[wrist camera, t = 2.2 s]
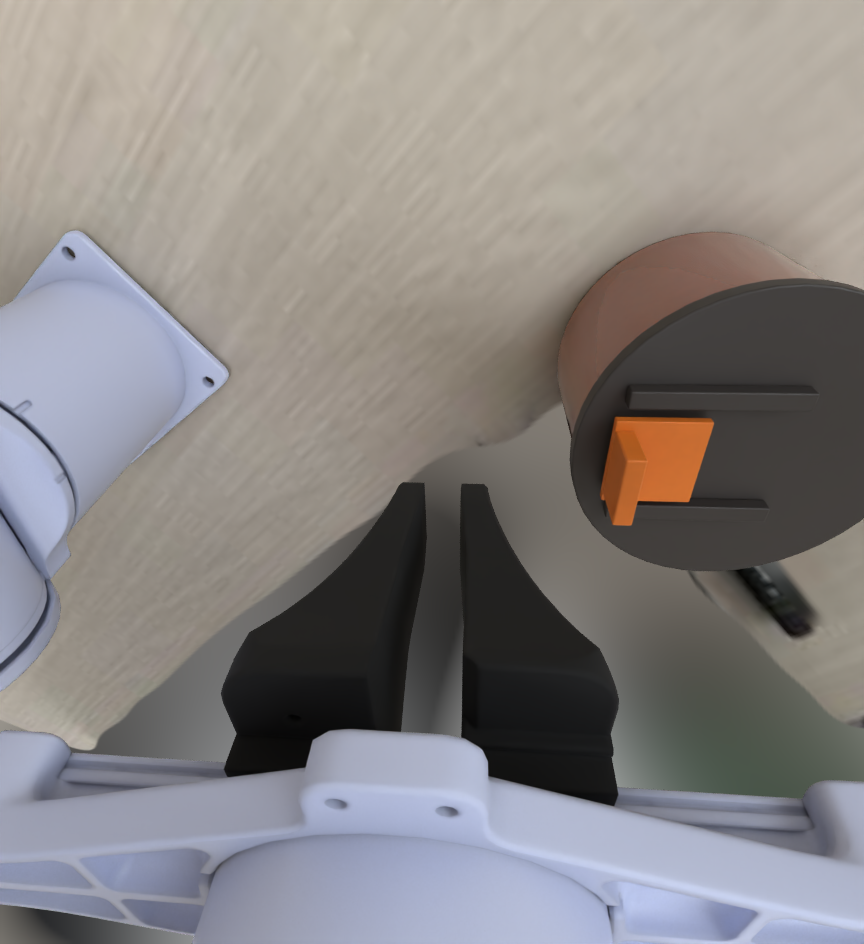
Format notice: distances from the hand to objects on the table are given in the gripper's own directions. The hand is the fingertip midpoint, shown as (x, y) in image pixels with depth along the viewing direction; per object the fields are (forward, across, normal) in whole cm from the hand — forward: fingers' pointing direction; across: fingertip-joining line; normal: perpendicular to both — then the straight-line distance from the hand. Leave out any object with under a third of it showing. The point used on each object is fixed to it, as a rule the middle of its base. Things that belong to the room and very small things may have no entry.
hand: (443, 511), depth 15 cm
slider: (+3, -6, 0) cm, 7 cm away
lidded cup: (+10, -9, 0) cm, 14 cm away
